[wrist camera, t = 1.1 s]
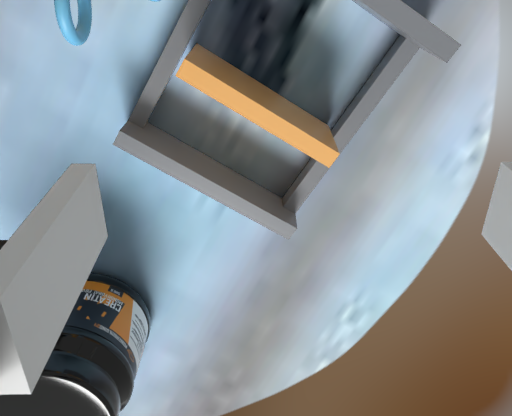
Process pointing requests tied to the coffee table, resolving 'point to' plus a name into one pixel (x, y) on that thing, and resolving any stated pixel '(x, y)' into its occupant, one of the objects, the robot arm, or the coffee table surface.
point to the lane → (283, 209)
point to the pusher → (258, 104)
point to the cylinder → (66, 23)
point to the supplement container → (90, 356)
